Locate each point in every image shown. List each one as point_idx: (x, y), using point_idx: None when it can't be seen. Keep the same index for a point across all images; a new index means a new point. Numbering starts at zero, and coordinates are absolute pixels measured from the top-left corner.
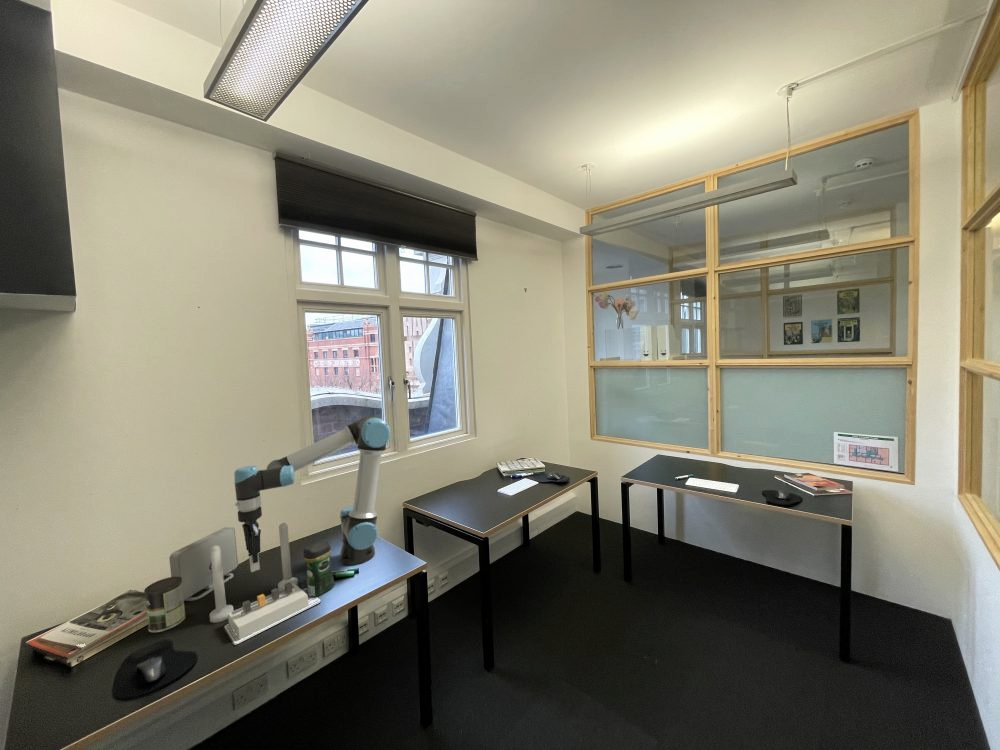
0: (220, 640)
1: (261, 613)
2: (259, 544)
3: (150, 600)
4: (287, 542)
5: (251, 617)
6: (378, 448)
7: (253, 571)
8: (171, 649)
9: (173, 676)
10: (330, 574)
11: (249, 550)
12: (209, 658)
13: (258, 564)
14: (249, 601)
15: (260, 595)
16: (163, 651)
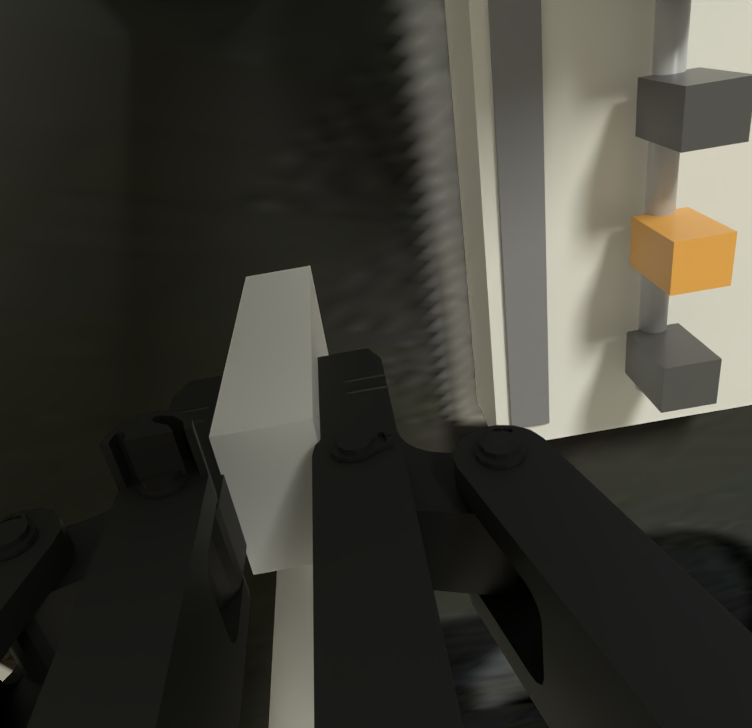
0: (619, 444)
1: (746, 246)
2: (730, 633)
3: None
4: None
5: (727, 317)
6: None
7: (326, 349)
8: (476, 623)
9: (725, 599)
10: None
11: (247, 629)
12: (742, 488)
13: (312, 311)
14: (702, 364)
15: (686, 267)
16: (462, 646)
